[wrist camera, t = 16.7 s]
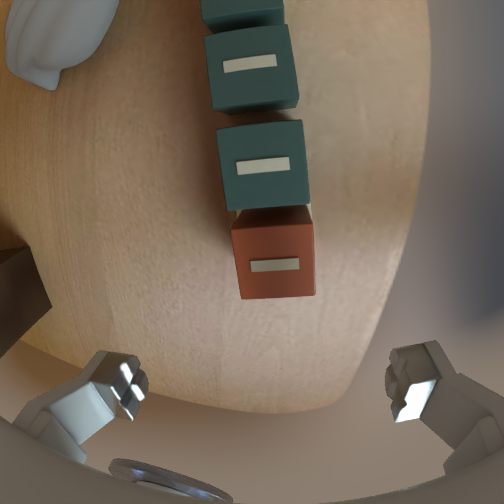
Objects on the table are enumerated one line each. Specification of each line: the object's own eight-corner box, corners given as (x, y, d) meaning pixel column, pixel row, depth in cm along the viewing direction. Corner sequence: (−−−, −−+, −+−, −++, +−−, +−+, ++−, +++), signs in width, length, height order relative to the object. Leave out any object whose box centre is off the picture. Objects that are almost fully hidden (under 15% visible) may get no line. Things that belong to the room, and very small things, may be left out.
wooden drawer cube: (306, 204, 17) (313, 223, 13) (310, 263, 18) (315, 297, 14) (241, 209, 17) (229, 230, 14) (249, 267, 19) (240, 301, 15)
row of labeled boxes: (313, 268, 18) (319, 301, 15) (245, 272, 19) (235, 306, 15) (280, -13, 11) (277, -46, 8) (208, -3, 12) (190, -31, 8)
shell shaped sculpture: (135, -61, 9) (99, -93, 3) (166, 30, 13) (115, -6, 7) (26, 20, 12) (-19, 13, 6) (38, 118, 16) (-20, 125, 10)
